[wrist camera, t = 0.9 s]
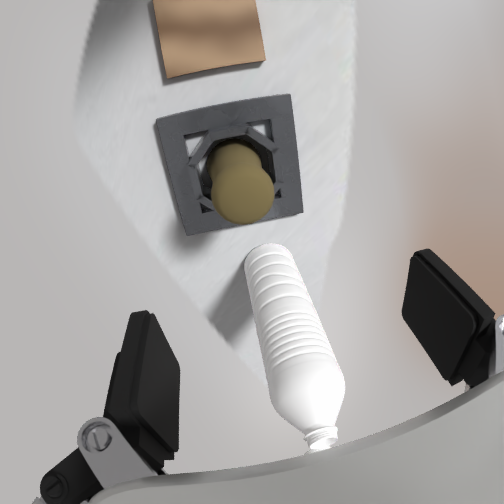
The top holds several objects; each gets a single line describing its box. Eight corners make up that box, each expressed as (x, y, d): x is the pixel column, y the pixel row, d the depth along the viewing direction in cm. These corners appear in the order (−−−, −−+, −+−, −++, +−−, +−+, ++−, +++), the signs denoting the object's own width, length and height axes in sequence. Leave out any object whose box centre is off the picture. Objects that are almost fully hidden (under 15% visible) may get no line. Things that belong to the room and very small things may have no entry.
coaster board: (153, -3, 21) (152, -5, 20) (249, -20, 21) (250, -23, 20) (168, 78, 26) (167, 78, 26) (264, 60, 27) (265, 60, 26)
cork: (215, 196, 34) (218, 244, 25) (199, 147, 31) (195, 177, 22) (266, 181, 34) (290, 224, 25) (254, 131, 31) (274, 154, 22)
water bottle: (240, 246, 38) (280, 440, 17) (291, 238, 38) (372, 416, 17) (248, 298, 43) (283, 471, 22) (293, 290, 43) (352, 454, 22)
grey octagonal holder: (157, 118, 28) (151, 122, 26) (288, 93, 29) (296, 95, 26) (187, 232, 36) (185, 246, 33) (301, 209, 36) (309, 221, 33)
